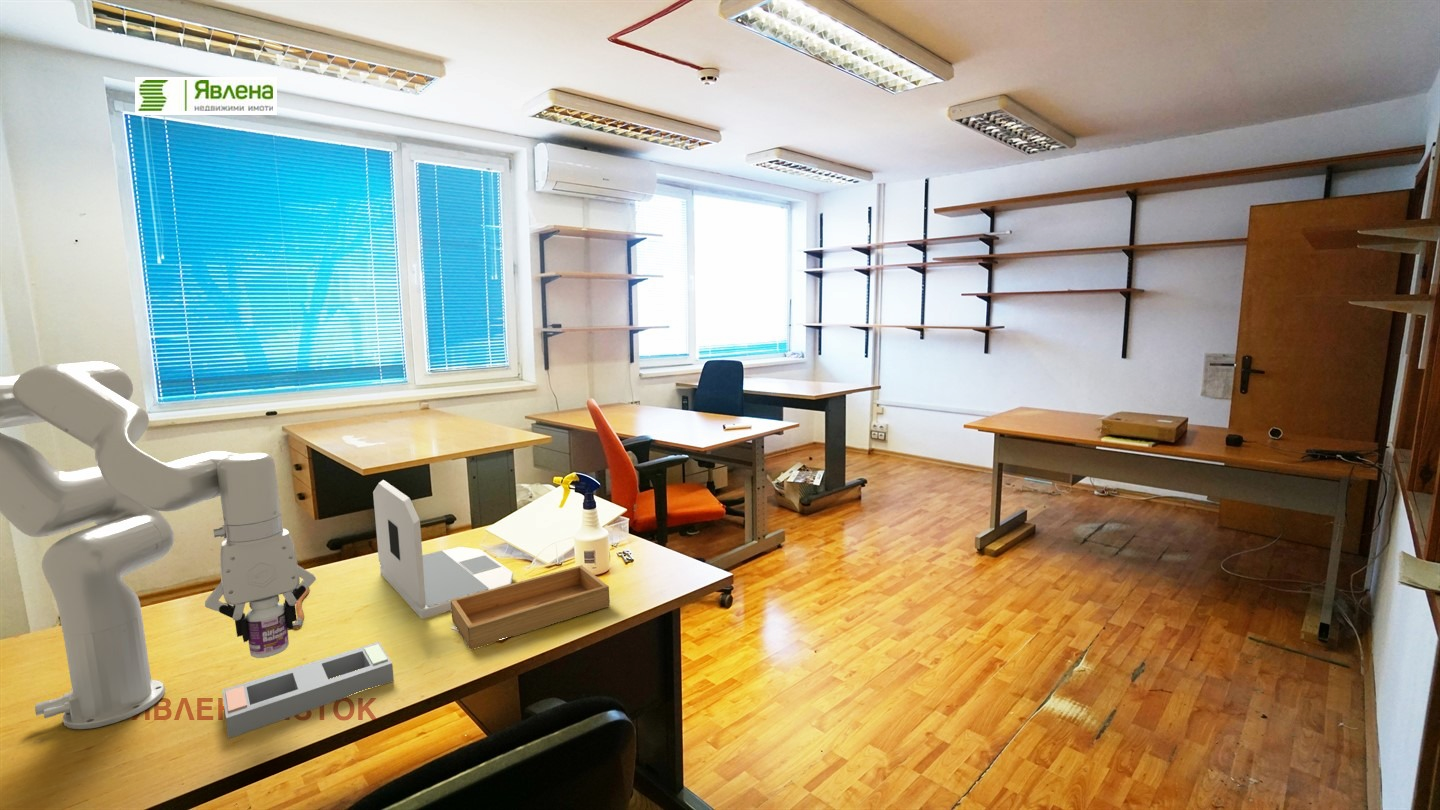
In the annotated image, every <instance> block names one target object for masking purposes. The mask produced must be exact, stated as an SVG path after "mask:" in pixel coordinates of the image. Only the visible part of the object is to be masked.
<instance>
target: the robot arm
mask: <svg viewBox="0 0 1440 810" xmlns="http://www.w3.org/2000/svg"><path fill="white" fill-rule="evenodd" d="M133 386H134V385H133V382H132V380H131V378H130V377H129V375H128V374H127V373H126V371H124V370H123V369H121V368H120V367H118V366H116V365H115V364H112V363H109V362H104V361H99V360H98V361H97V360H96V361H95V360H94V361H92V360H91V361H79V362H68V363H67V362H65V363H64V362H63V363H54V364H53V363H52V364H46V365H45V364H44V365H41V366H38V367H33V368H31V369H29V370H27V371H25V372H23V373H17V374H5V375H0V429H4V428H5V429H6V428H11V427H18V426H23V425H31V424H37V423H43V422H44V423H45V422H46V423H48V424H50V425H52V426H53V427H55V428H57V429H59V430H61V431H62V432H64V433H66V434H68V435H70V436H71V437H72V438H74V439H76V440H78V441H79V442H81V443H83V444H85V445H86V446H88V447H90V449H93V450H94V458H95V463H96V466H86V467H82V468H77V469H72V470H69V471H62V470H59V469H57V468H56V467H55V466H53V464H52V463H50V462H49V461H48V460H47V459H46V458H45V456H44V455H43V454H42V453H41V452H40V451H39V450H37V449H36V448H35V447H33V446H31V445H29V444H28V443H26V442H24V441H22V440H20V439H17V438H16V437H12V436H9V435H6V434H4V433H1V432H0V514H2V516H4V518H5V519H6V520H8V522H10V523H11V524H12V525H13V526H14V527H15V528H16V529H17V530H18V531H20V532H21V533H22V534H23V535H27V536H29V537H33V538H41V537H43V538H44V537H48V536H49V537H50V536H53V535H57V534H61V533H64V532H66V531H70V530H73V529H76V528H79V527H82V526H85V525H88V524H89V525H90V524H92V523H94V524H96V525H93V526H90V527H87V528H85V529H82V530H78V531H76V532H73V533H71V534H69V535H66V536H64V537H63V538H60V539H58V540H57V541H55V542H54V543H53V544H51V546H50V547H49V548H47V550H46V551H45V553H44V554H43V558H42V561H41V569H42V572H43V573H42V574H43V576H44V578H45V580H46V582H47V584H48V585H49V588H50V590H51V592H52V594H53V597H54V600H55V602H56V603H55V604H56V607H57V609H58V610H57V611H58V614H59V618H60V619H59V620H60V624H61V631H62V634H63V641H64V642H63V643H64V647H65V652H66V659H67V665H68V671H69V678H70V683H71V690H70V692H67V693H64V694H63V695H62V696H61V697H58V698H54V699H48V700H45V701H40V702H37V703H35V706H34V711H35V715H36V716H37V717H38V716H40V715H41V716H42V715H43V718H44V719H47V718H51V717H54V716H57V715H59V714H63V715H62V721H63V724H64V726H65V727H66V726H67V727H66V728H68V729H73V730H89V729H95V728H101V727H104V726H108V725H112V724H116V723H118V722H121V721H124V720H127V719H129V718H132V717H134V716H136V715H138V714H140V713H142V712H145V711H146V710H148V709H149V708H151V707H153V706H154V705H155V704H157V703H158V702H159V701H160V700H161V699H162V698H163V697H164V695H165V692H166V691H165V690H166V688H165V683H164V682H162V681H160V680H157V679H152V675H151V670H150V662H149V654H148V648H147V642H146V634H145V627H144V620H143V613H142V607H141V601H140V599H139V596H138V595H137V593H136V592H135V591H134V590H133V589H132V588H131V587H130V586H129V585H127V584H126V583H125V581H124V579H123V578H124V576H126V575H129V574H131V573H132V572H133V573H134V572H135V571H137V570H140V569H142V568H144V567H147V566H148V565H151V564H153V563H155V562H157V561H159V560H161V559H163V558H164V557H165V556H167V555H168V554H169V552H170V551H171V550H172V549H173V546H174V543H175V534H174V531H173V528H172V527H171V525H170V523H169V522H168V521H167V519H166V518H165V517H164V516H163V515H162V513H161V512H176V511H179V510H182V509H185V508H189V507H190V506H191V507H192V506H194V505H196V504H200V503H201V502H204V501H208V500H212V499H215V498H218V497H220V502H221V509H222V517H223V524H222V526H220V527H218V528H215V529H213V535H214V536H213V537H214V538H223V539H225V540H223V541H221V546H220V555H219V556H220V564H219V566H220V577H221V579H220V580H221V581H220V582H219V584H218V585H217V586H216V587H215V588H214V590H213V591H212V592H211V593H210V594H209V596H208V597H207V598H206V599H205V600H204V607H205V608H207V609H209V610H212V611H215V612H219V614H222V615H224V616H226V617H229V618H231V619H232V620H234V623H235V631H236V632H235V633H236V636H237V638H239V637H242V640H243V643H247V642H249V641H248V640H249V636H248V628H247V621H246V613H245V612H244V611H245V606H246V604H247V603H249V602H252V601H256V600H260V599H264V598H268V597H272V596H276V595H279V596H280V595H282V596H283V597H284V602H283V604H282V605H283V606H284V607H285V613H286V622H287V628H288V630H292V629H293V622H295V621H297V618H298V617H297V608H296V604H297V601H298V599H299V598H300V597H301V596H302V595H303V594H304V592H305V591H306V589H307V588H310V587H311V585H312V584H314V583H315V581H316V580H317V578H316V576H315V575H314V573H311V572H310V571H308V570H306V569H305V568H303V567H302V566H300V565H298V561H297V555H296V550H295V546H294V542H293V539H292V537H291V534H290V532H289V530H287V529H286V528H283V527H284V526H283V519H282V518H283V517H282V514H281V513H282V511H281V504H280V495H279V487H278V480H277V479H278V477H277V471H276V465H275V460H274V458H273V456H271V455H270V454H268V453H265V452H248V453H245V452H244V453H235V452H229V451H222V450H212V451H211V450H210V451H205V452H201V453H198V454H194V455H189V456H185V457H181V458H178V459H174V460H169V461H168V462H167V461H166V462H162V461H160V460H158V459H156V458H154V456H151V455H150V454H148V453H146V452H144V451H143V450H141V449H139V447H137V446H136V445H135V444H136V443H137V442H138V441H139V440H140V439H141V438H142V436H143V435H144V434H145V432H146V431H147V428H148V426H149V421H150V418H149V414H148V413H147V412H146V410H145V409H143V408H142V407H140V406H138V405H137V404H135V403H133V402H132V401H130V400H131V397H132V396H133V392H134V387H133ZM300 579H302V580H300ZM300 581H301V582H300ZM222 597H223V599H224V601H225V602H222V601H221V600H220V599H221V598H222ZM293 630H294V629H293Z"/></svg>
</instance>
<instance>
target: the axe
mask: <svg viewBox="0 0 1440 810" xmlns="http://www.w3.org/2000/svg"><path fill="white" fill-rule="evenodd" d="M309 593H310V587H309V588H307V589H306V591H305V592H304V594H303V595H302V596H301V597H300V598H299V599H298V601H297V603H296V604H295V609H296V614H297V617H296V618H297V621H294V623H293V628H295V629H296V630H298V629H297V628H299V629H301V628H302V627H303V624H302V623H304V619H305V614H304V610H303V607H302V603H303V601H304V600H305V598H306V597H307V596H308V595H309ZM307 594H308V595H307ZM306 595H307V596H306ZM305 596H306V597H305ZM304 597H305V598H304ZM302 600H303V601H302ZM300 627H301V628H300ZM287 629H288V628H287ZM295 629H294V630H295ZM288 630H289V629H288Z"/></svg>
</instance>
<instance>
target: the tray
mask: <svg viewBox="0 0 1440 810" xmlns="http://www.w3.org/2000/svg"><path fill="white" fill-rule="evenodd" d="M609 587H610V586H609V585H608V584H607V583H605V582H604V581H603V580H601V579H600V578H599V577H598V576H596V575H595V573H593V572H591V571H590V570H589V569H587V568H586V567H585V566H583V565H577V566H574V567H570V568H566V569H563V570H558V571H555V572H551V573H547V574H543V575H540V576H536V577H532V578H529V579H528V578H527V579H526V580H525V579H524V580H521V581H518V582H512V583H511V584H509V585H505V586H502V587H498V588H494V589H490V590H486V591H483V592H479V593H475V594H471V595H467V596H464V597H460V598H456V599H452V600H451V610H450V612H451V620H452V623H453V624H454V625H455V628H456V627H457V628H456V629H457V630H459V631H458V632H459V634H460V636H461V635H462V636H461V637H462V639H463V641H464V642H465V643H466V645H467V647H468V646H469V647H468V648H469V649H473V650H475V649H474V648H476V649H479V648H478V647H480V648H482V647H481V646H483V647H485V646H484V645H486V646H488V645H487V644H489V645H492V644H495V643H497V642H496V641H497V640H499V639H502V638H506V637H511V636H514V637H516V635H517V636H520V635H522V634H527V633H529V631H530V632H532V631H531V630H533V631H536V630H539V629H541V627H542V628H545V627H548V626H551V624H552V625H555V624H558V623H561V622H563V620H564V621H568V620H570V619H573V617H574V618H577V617H579V616H583V615H585V614H586V615H587V614H589V612H590V613H592V611H593V612H596V611H599V610H602V609H605V608H609V607H610V605H611V601H610V599H611V598H610V588H609ZM595 610H596V611H595ZM576 616H577V617H576ZM560 621H561V622H560ZM557 622H558V623H557ZM554 623H555V624H554ZM538 628H539V629H538ZM535 629H536V630H535ZM511 638H512V637H511ZM494 642H495V643H494ZM491 643H492V644H491Z"/></svg>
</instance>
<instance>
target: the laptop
mask: <svg viewBox="0 0 1440 810" xmlns="http://www.w3.org/2000/svg"><path fill="white" fill-rule="evenodd" d="M372 494H373V495H372V496H373V507H374V509H373V510H374V519H375V532H376V541H377V542H376V543H377V545H376V546H377V554H378V562H379V565H380V566H379V569H380V574H381V575H382V576H383V578H384V579H385V580H386V581H387V582H388V584H389V585H390V586H392V588H393V589H394V590H395V591H396V592H397V593H398V594H399V595H400V597H402V599H403V600H404V601H405V602H406V603H407V604H408V605H409V607H411V609H412V610H413V611H414V612H415V613H416V614H417V615H418V617H419V618H420V619H427V618H430V617H432V616H433V617H434V616H437V615H439V614H443V613H446V612H449V611H450V612H451V600H452V599H456V598H460V597H464V596H467V595H471V594H475V593H479V592H483V591H486V590H490V589H494V588H498V587H502V586H505V585H509V584H513V577H514V572H513V571H512V570H510V569H509V568H508V567H506V566H505V565H504V564H502V563H500V562H499V561H497V560H496V559H495V558H494V557H492V556H491V555H489V554H488V553H486V552H485V551H484V550H482V549H480V548H472V547H466V546H455V547H453V548H448V549H444V550H438V551H434V552H431V553H427V554H423V547H422V546H423V545H422V543H423V542H422V532H421V531H422V530H421V520H420V517H419V515H418V513H417V511H416V509H415V507H414V504H413V502H412V500H411V498H410V497H409V496H408V495H406V494H405V493H403V492H402V491H400V490H399V489H398V488H396V487H395V486H394V485H391V484H390V483H389V482H387V481H386V480H384V479H382V480H381V481H379V482H378V484H377V485H376V487H375V488H374V490H373V492H372Z"/></svg>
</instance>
